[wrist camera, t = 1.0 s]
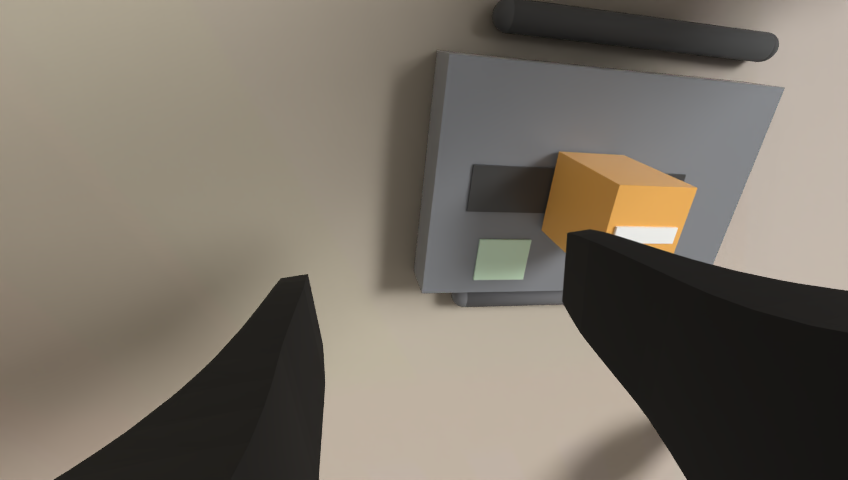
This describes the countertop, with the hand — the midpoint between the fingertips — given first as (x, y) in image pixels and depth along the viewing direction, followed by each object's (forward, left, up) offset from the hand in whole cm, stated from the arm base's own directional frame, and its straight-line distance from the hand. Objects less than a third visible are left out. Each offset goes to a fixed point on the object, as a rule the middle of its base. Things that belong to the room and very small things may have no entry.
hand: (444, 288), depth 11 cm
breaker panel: (-9, 0, -10) cm, 13 cm away
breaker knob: (-8, 0, -8) cm, 11 cm away
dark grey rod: (-10, -7, -10) cm, 15 cm away
